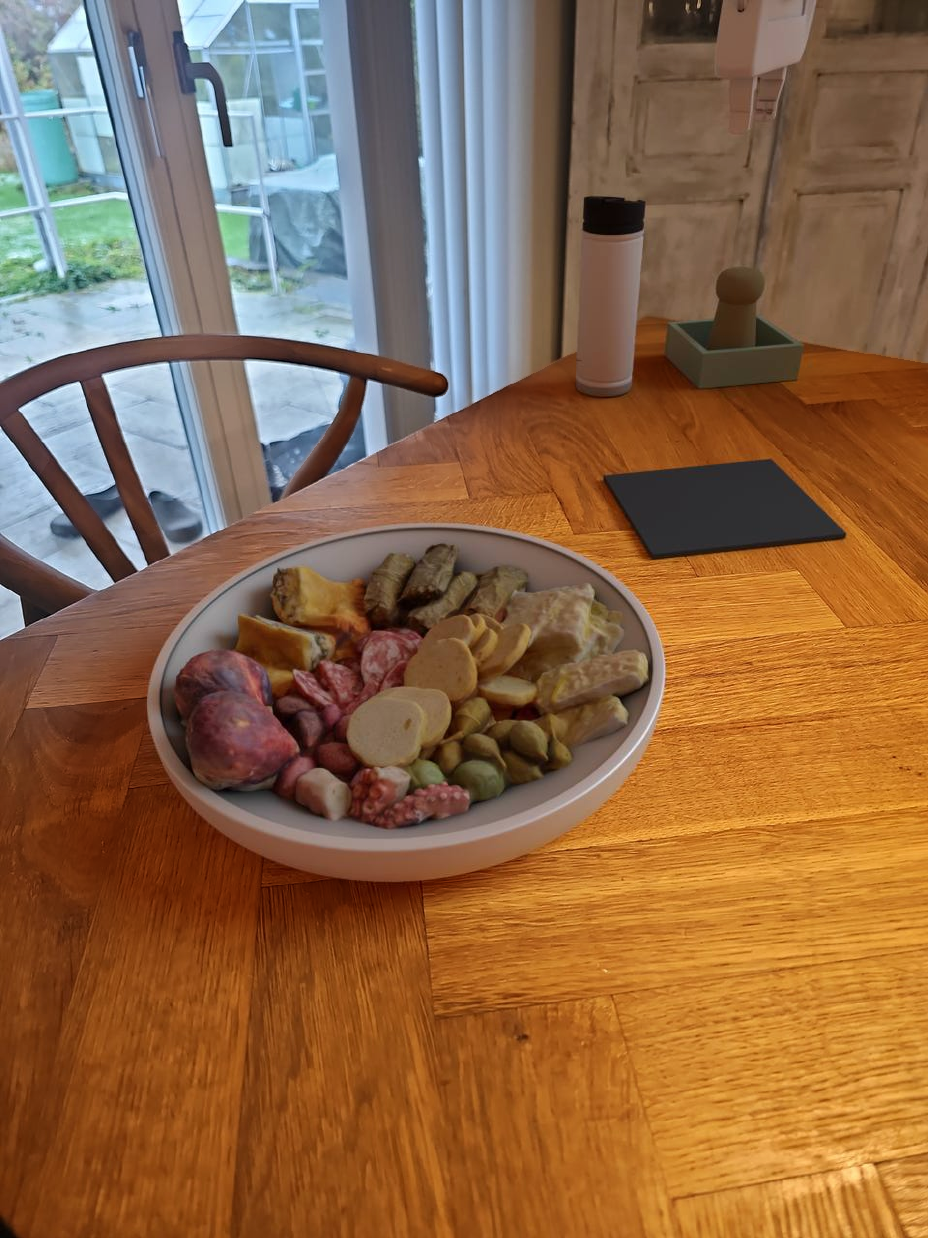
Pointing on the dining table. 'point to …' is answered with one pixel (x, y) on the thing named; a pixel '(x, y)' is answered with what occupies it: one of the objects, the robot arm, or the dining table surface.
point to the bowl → (407, 700)
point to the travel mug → (608, 294)
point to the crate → (732, 355)
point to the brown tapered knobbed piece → (736, 308)
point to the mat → (719, 509)
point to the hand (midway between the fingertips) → (752, 126)
